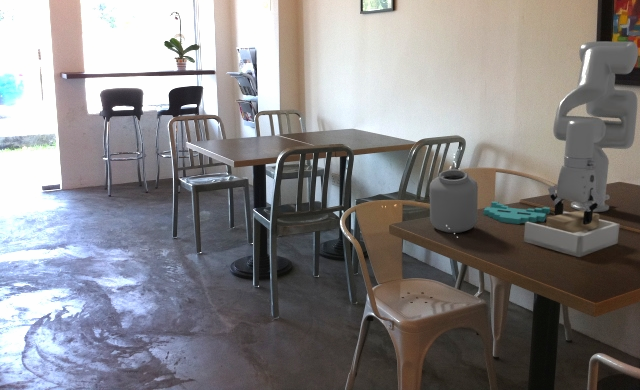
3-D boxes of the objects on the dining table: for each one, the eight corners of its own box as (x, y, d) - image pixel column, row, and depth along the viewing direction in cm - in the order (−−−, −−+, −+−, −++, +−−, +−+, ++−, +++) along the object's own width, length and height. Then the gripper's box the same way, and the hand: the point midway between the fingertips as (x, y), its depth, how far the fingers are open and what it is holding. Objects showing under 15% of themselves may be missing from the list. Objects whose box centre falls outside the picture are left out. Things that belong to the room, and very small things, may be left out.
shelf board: (580, 222, 194) (581, 209, 193) (598, 227, 189) (599, 214, 188) (545, 230, 186) (546, 217, 185) (563, 235, 181) (564, 222, 180)
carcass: (562, 229, 201) (564, 211, 200) (617, 243, 187) (619, 223, 186) (523, 241, 189) (525, 222, 188) (579, 257, 176) (581, 236, 174)
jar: (468, 241, 190) (473, 159, 184) (421, 235, 196) (423, 155, 190) (480, 224, 207) (484, 149, 201) (436, 220, 213) (438, 146, 207)
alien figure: (492, 207, 231) (478, 220, 214) (492, 201, 230) (478, 214, 213) (549, 213, 222) (540, 228, 205) (550, 207, 221) (540, 221, 204)
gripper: (613, 165, 178) (607, 224, 182) (558, 157, 192) (553, 212, 196) (599, 169, 174) (593, 229, 178) (543, 160, 187) (539, 216, 191)
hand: (572, 220), depth 187 cm, fingers open, 8 cm apart
